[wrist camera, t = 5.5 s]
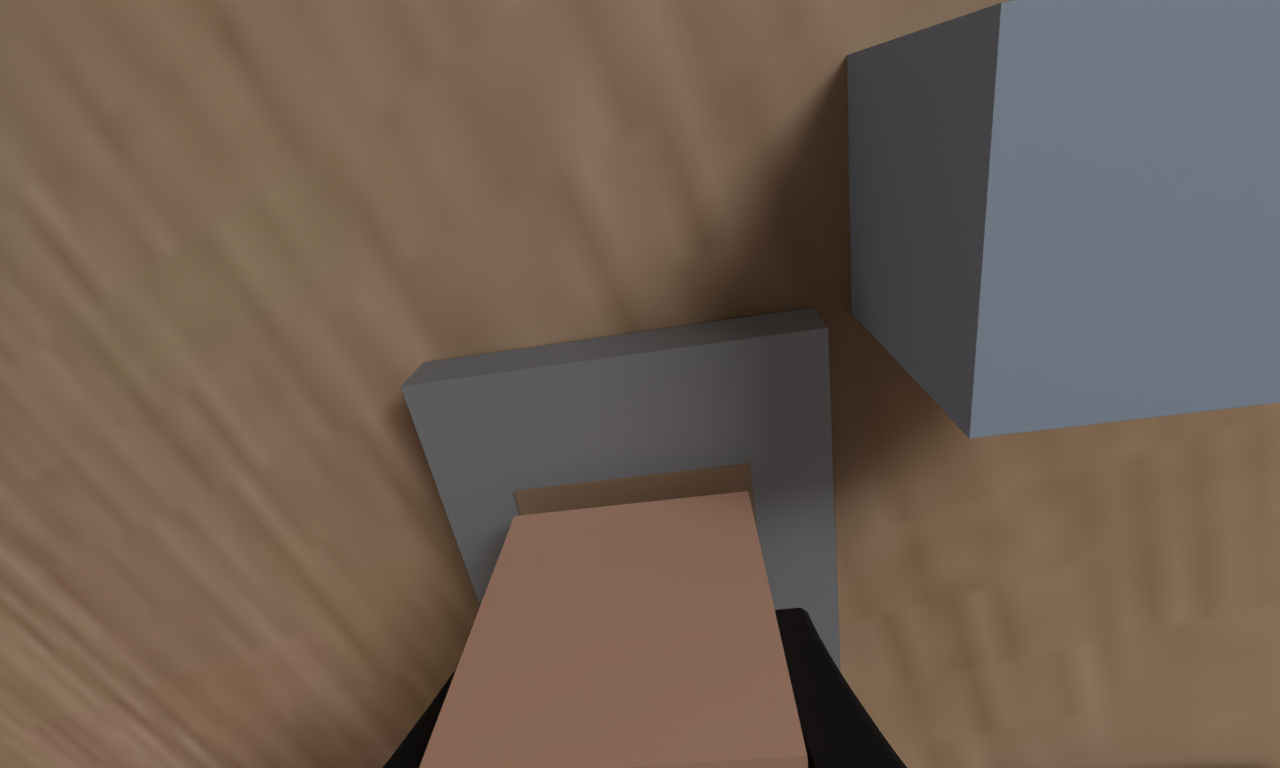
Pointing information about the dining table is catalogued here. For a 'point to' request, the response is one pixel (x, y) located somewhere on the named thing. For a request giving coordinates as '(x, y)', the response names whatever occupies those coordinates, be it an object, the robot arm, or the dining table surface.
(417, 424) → the build base
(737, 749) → the brick
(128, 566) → the dining table surface
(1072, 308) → the brick
